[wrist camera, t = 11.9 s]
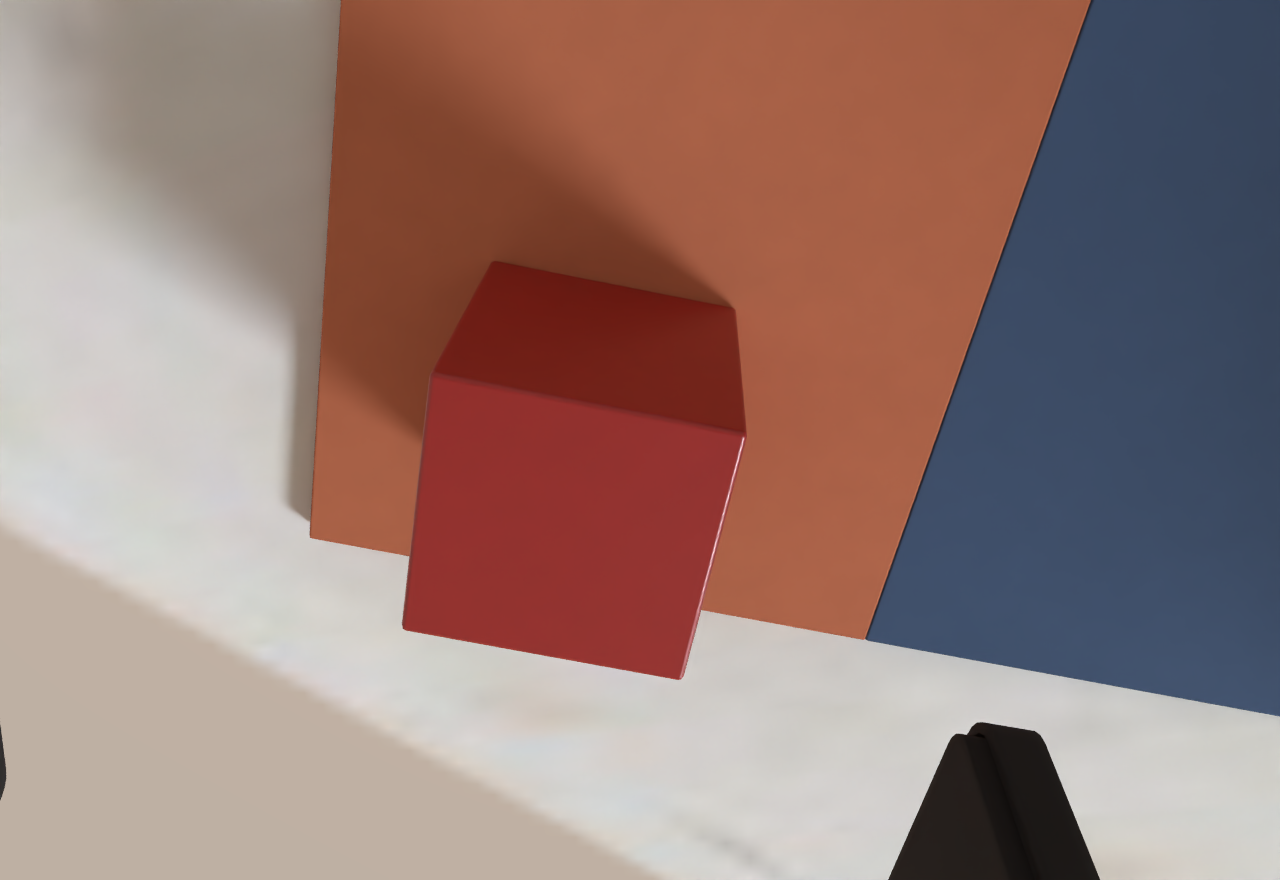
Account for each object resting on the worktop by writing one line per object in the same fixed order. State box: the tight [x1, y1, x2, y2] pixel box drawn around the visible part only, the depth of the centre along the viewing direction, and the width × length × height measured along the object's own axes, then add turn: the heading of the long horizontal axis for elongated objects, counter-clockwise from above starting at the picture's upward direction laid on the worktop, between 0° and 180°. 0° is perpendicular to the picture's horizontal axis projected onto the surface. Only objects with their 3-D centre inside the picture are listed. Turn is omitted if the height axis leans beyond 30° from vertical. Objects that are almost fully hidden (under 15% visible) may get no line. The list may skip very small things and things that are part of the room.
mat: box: [310, 0, 1280, 716], centre depth 17 cm, size 23×23×1 cm
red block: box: [402, 261, 747, 680], centre depth 18 cm, size 4×4×5 cm
